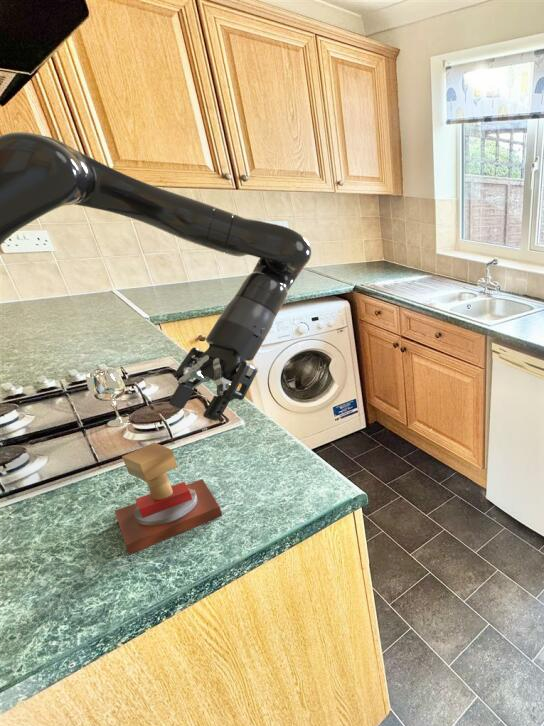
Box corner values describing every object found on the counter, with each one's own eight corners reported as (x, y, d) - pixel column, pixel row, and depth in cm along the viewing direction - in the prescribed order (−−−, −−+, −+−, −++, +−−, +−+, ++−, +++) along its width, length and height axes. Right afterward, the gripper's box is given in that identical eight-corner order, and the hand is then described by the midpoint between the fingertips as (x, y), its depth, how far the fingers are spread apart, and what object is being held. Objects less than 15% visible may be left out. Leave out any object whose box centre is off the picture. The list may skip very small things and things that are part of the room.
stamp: (141, 534, 63) (116, 475, 59) (131, 507, 68) (108, 451, 63) (203, 508, 69) (185, 454, 64) (190, 486, 74) (173, 433, 69)
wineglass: (126, 427, 92) (107, 378, 87) (96, 428, 91) (75, 378, 86) (142, 414, 97) (125, 367, 92) (114, 415, 96) (95, 367, 91)
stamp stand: (129, 554, 62) (125, 545, 61) (118, 519, 68) (114, 510, 67) (222, 515, 70) (219, 506, 69) (205, 487, 76) (202, 478, 75)
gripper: (196, 310, 73) (141, 395, 68) (254, 324, 68) (200, 416, 63) (232, 332, 79) (184, 410, 74) (287, 345, 75) (241, 430, 70)
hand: (192, 412), depth 69 cm, fingers open, 8 cm apart
